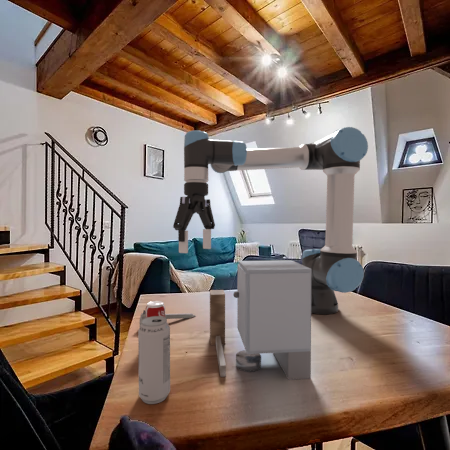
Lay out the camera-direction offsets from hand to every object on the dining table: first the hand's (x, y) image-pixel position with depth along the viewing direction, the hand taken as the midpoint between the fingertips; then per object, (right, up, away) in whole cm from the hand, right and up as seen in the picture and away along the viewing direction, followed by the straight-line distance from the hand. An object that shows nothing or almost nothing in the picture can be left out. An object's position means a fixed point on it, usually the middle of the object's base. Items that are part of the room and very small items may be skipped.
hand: (195, 250), depth 89 cm
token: (+15, -26, -21) cm, 36 cm away
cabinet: (+20, -25, -21) cm, 39 cm away
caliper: (-10, -25, +7) cm, 28 cm away
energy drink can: (-5, -26, -33) cm, 42 cm away
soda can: (-10, -25, -12) cm, 29 cm away
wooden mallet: (+8, -25, -16) cm, 31 cm away
